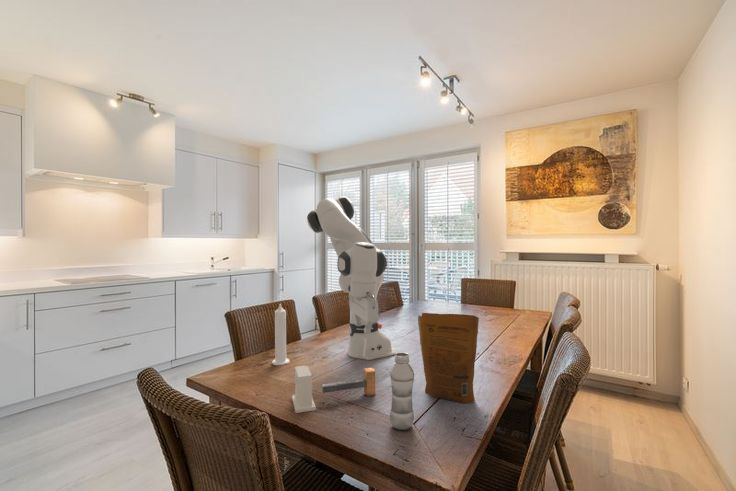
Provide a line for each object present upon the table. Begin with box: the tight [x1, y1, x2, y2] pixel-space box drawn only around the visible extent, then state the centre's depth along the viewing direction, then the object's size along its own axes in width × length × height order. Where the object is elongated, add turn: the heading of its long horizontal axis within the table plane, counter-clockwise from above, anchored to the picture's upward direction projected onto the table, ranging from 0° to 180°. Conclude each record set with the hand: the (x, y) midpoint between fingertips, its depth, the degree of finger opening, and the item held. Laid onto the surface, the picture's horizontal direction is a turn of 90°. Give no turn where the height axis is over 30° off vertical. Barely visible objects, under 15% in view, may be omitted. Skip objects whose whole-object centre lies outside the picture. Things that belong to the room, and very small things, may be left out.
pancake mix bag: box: [417, 312, 480, 404], centre depth 113 cm, size 7×19×28 cm, turn 63°
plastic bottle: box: [389, 352, 415, 431], centre depth 95 cm, size 6×7×20 cm
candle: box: [271, 303, 290, 366], centre depth 145 cm, size 7×7×25 cm
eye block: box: [291, 364, 317, 414], centre depth 109 cm, size 6×10×10 cm, turn 18°
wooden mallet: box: [321, 367, 376, 397], centre depth 114 cm, size 18×3×8 cm, turn 108°
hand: (362, 329), depth 119 cm, fingers open, 8 cm apart
